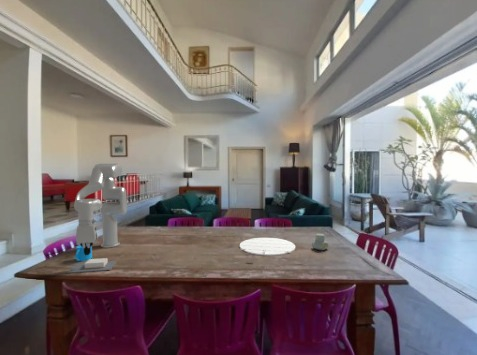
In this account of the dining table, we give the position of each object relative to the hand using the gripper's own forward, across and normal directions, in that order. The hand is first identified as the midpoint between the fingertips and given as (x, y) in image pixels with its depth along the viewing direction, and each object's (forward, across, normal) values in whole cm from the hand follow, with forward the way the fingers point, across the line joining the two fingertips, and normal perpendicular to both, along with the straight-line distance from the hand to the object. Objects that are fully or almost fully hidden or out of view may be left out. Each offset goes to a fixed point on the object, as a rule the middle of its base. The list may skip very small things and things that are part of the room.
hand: (87, 254), depth 154 cm
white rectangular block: (+6, 0, 0) cm, 6 cm away
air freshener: (+8, -145, -7) cm, 145 cm away
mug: (+8, +8, -14) cm, 18 cm away
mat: (+8, -3, 0) cm, 8 cm away
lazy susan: (+8, -111, -19) cm, 113 cm away
